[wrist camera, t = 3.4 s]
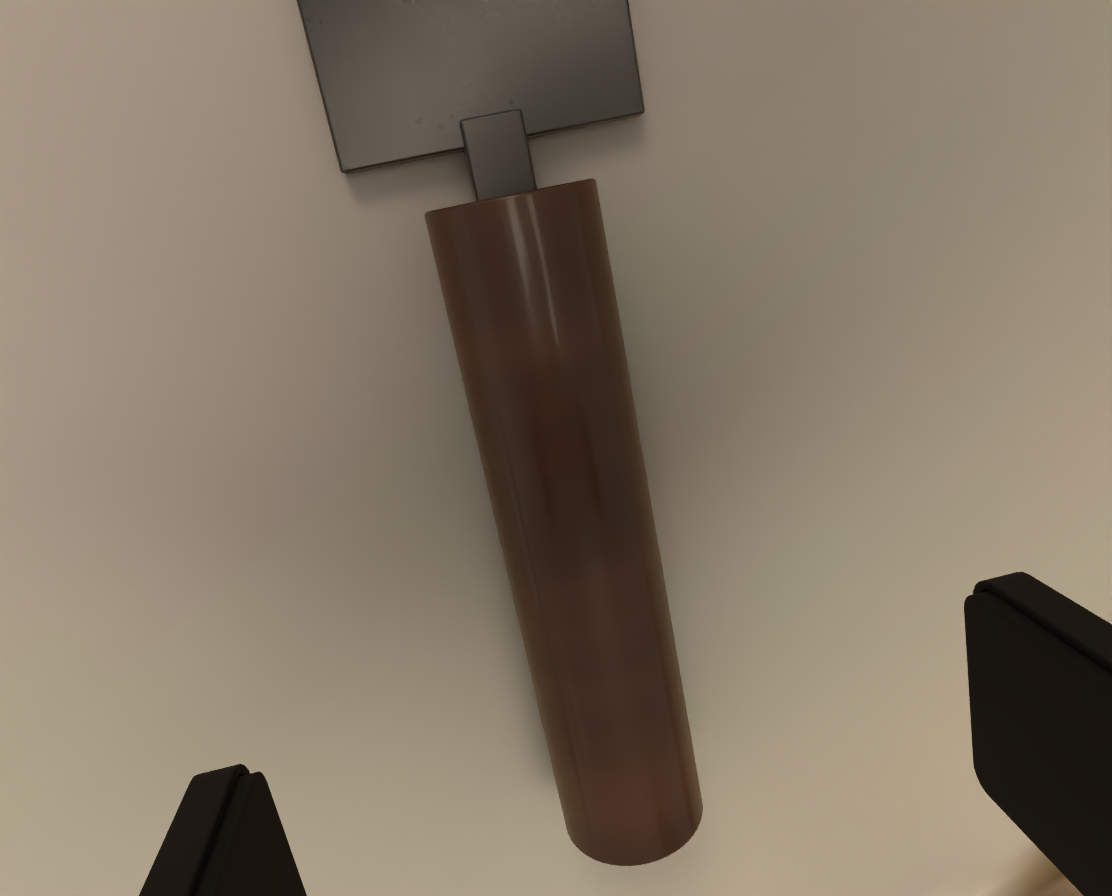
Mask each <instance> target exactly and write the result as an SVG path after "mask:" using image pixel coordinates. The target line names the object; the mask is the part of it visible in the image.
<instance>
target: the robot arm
mask: <svg viewBox="0 0 1112 896" xmlns="http://www.w3.org/2000/svg"><path fill="white" fill-rule="evenodd" d="M964 614H965V630H966V647H967V663H968V680H969V696H970V713H971V730H972V746H973V763H974V769H975V772H976V775H977V778H978V780H979V782H980V784H981V786H982V787H983V789H984V790H985V792H986V793H987V794H988V795H989V796H990V798H991V799H992V800H993V801H994V802H995V803H996V804H997V805H998V806H999V807H1000V808H1001V809H1002V810H1003V811H1004V812H1005V813H1006V814H1007V815H1008V817H1009V818H1010V819H1011V820H1012V821H1013V822H1014V823H1015V824H1016V825H1017V826H1018V827H1019V828H1020V829H1021V830H1022V831H1023V832H1024V833H1025V834H1026V835H1027V837H1028V838H1029V839H1030V840H1031V841H1032V842H1033V843H1034V844H1035V845H1036V846H1037V847H1038V848H1039V849H1040V850H1041V851H1042V852H1043V853H1044V854H1045V855H1046V857H1047V858H1048V859H1049V860H1050V861H1051V862H1052V863H1053V864H1054V865H1055V866H1056V867H1057V868H1058V869H1059V870H1060V871H1061V872H1062V873H1063V874H1064V876H1065V877H1066V878H1067V879H1068V880H1069V881H1070V882H1071V883H1072V884H1073V885H1074V886H1075V887H1076V888H1077V889H1078V890H1079V891H1080V892H1081V893H1082V894H1083V896H1112V624H1110V623H1108V622H1107V621H1105V620H1103V619H1102V618H1100V617H1098V616H1097V615H1095V614H1093V613H1092V612H1090V611H1088V610H1087V609H1085V608H1084V607H1082V606H1080V605H1079V604H1077V603H1075V602H1074V601H1072V600H1070V599H1069V598H1067V597H1065V596H1064V595H1062V594H1060V593H1059V592H1057V591H1055V590H1054V589H1052V588H1050V587H1049V586H1047V585H1045V584H1044V583H1042V582H1040V581H1039V580H1037V579H1035V578H1034V577H1032V576H1031V575H1029V574H1026V573H1024V572H1016V573H1012V574H1008V575H1004V576H1000V577H996V578H992V579H988V580H984V581H980V582H978V583H977V584H976V585H975V588H974V590H973V595H970V596H968V597H967V598H966V600H965V602H964ZM139 896H307V895H306V892H305V889H304V886H303V884H302V881H301V878H300V875H299V872H298V869H297V866H296V864H295V861H294V858H293V855H292V852H291V849H290V846H289V844H288V841H287V838H286V835H285V832H284V829H283V826H282V824H281V821H280V818H279V815H278V812H277V809H276V806H275V803H274V801H273V798H272V795H271V792H270V789H269V786H268V783H267V781H266V779H265V776H264V775H263V774H262V773H261V772H255V773H251V774H250V772H249V770H248V769H247V768H246V766H245V765H242V764H238V765H234V766H230V767H226V768H222V769H218V770H214V771H210V772H206V773H202V774H198V775H196V776H194V777H193V779H192V780H191V782H190V784H189V786H188V788H187V790H186V793H185V795H184V797H183V799H182V801H181V804H180V806H179V808H178V810H177V813H176V815H175V817H174V819H173V821H172V824H171V826H170V828H169V830H168V832H167V835H166V837H165V839H164V841H163V844H162V846H161V848H160V850H159V852H158V855H157V857H156V859H155V861H154V863H153V866H152V868H151V870H150V872H149V875H148V877H147V879H146V881H145V883H144V886H143V888H142V890H141V892H140V895H139Z"/></svg>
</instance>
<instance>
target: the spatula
mask: <svg viewBox="0 0 1112 896" xmlns="http://www.w3.org/2000/svg"><path fill="white" fill-rule="evenodd" d="M297 2H298V6H299V10H300V14H301V18H302V22H303V26H304V30H305V34H306V37H307V41H308V45H309V49H310V53H311V57H312V61H313V65H314V69H315V73H316V76H317V80H318V84H319V88H320V92H321V96H322V100H323V104H324V108H325V112H326V115H327V119H328V123H329V127H330V131H331V135H332V139H333V143H334V147H335V150H336V154H337V158H338V162H339V166H340V170H341V172H342V173H345V174H349V173H354V172H359V171H364V170H369V169H374V168H379V167H384V166H389V165H394V164H399V163H404V162H409V161H414V160H419V159H424V158H429V157H434V156H439V155H445V154H450V153H455V152H460V151H465V156H466V161H467V165H468V170H469V175H470V179H471V184H472V189H473V193H474V198H475V202H472V203H467V204H462V205H457V206H453V207H448V208H443V209H438V210H433V211H429V212H426V213H425V219H426V224H427V228H428V232H429V237H430V241H431V245H432V250H433V254H434V258H435V263H436V267H437V271H438V276H439V280H440V284H441V288H442V293H443V297H444V301H445V306H446V310H447V314H448V319H449V323H450V327H451V332H452V336H453V340H454V345H455V349H456V353H457V358H458V362H459V366H460V370H461V375H462V379H463V383H464V388H465V392H466V396H467V401H468V405H469V409H470V414H471V418H472V422H473V427H474V431H475V435H476V439H477V444H478V448H479V452H480V457H481V461H482V465H483V470H484V474H485V478H486V483H487V487H488V491H489V496H490V500H491V504H492V509H493V513H494V517H495V521H496V526H497V530H498V534H499V539H500V543H501V547H502V552H503V556H504V560H505V565H506V569H507V573H508V578H509V582H510V586H511V591H512V595H513V599H514V603H515V608H516V612H517V616H518V621H519V625H520V629H521V634H522V638H523V642H524V647H525V651H526V655H527V660H528V664H529V668H530V672H531V677H532V681H533V685H534V690H535V694H536V698H537V703H538V707H539V711H540V716H541V720H542V724H543V729H544V733H545V737H546V742H547V746H548V750H549V754H550V759H551V763H552V767H553V772H554V776H555V780H556V785H557V789H558V793H559V798H560V802H561V806H562V811H563V815H564V819H565V823H566V828H567V831H568V834H569V836H570V838H571V840H572V842H573V843H574V844H575V846H576V847H577V848H578V849H579V850H580V851H581V852H583V853H584V854H586V855H587V856H589V857H591V858H592V859H594V860H597V861H600V862H602V863H606V864H611V865H619V866H633V865H642V864H647V863H651V862H654V861H657V860H660V859H662V858H665V857H667V856H669V855H670V854H672V853H674V852H676V851H677V850H678V849H680V848H681V847H682V846H684V845H685V844H686V843H687V842H688V841H689V840H690V838H691V837H692V836H693V835H694V833H695V832H696V830H697V828H698V826H699V823H700V821H701V817H702V811H703V805H702V798H701V792H700V786H699V781H698V775H697V769H696V763H695V757H694V751H693V745H692V740H691V734H690V728H689V722H688V716H687V710H686V704H685V699H684V693H683V687H682V681H681V675H680V669H679V664H678V658H677V652H676V646H675V640H674V634H673V628H672V623H671V617H670V611H669V605H668V599H667V593H666V588H665V582H664V576H663V570H662V564H661V558H660V552H659V547H658V541H657V535H656V529H655V523H654V517H653V512H652V506H651V500H650V494H649V488H648V482H647V476H646V471H645V465H644V459H643V453H642V447H641V441H640V436H639V430H638V424H637V418H636V412H635V406H634V400H633V395H632V389H631V383H630V377H629V371H628V365H627V359H626V354H625V348H624V342H623V336H622V330H621V324H620V319H619V313H618V307H617V301H616V295H615V289H614V283H613V278H612V272H611V266H610V260H609V254H608V248H607V243H606V237H605V231H604V225H603V219H602V213H601V207H600V202H599V196H598V190H597V184H596V180H595V179H586V180H581V181H576V182H571V183H566V184H561V185H556V186H551V187H546V188H541V189H537V186H536V181H535V176H534V171H533V166H532V160H531V155H530V150H529V145H528V139H527V138H530V137H535V136H540V135H545V134H550V133H555V132H560V131H565V130H570V129H575V128H580V127H585V126H590V125H596V124H601V123H606V122H611V121H616V120H621V119H626V118H631V117H636V116H639V115H641V114H643V113H644V111H645V109H644V103H643V96H642V90H641V83H640V76H639V70H638V63H637V56H636V50H635V43H634V37H633V30H632V23H631V17H630V10H629V3H628V0H297Z"/></svg>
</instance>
